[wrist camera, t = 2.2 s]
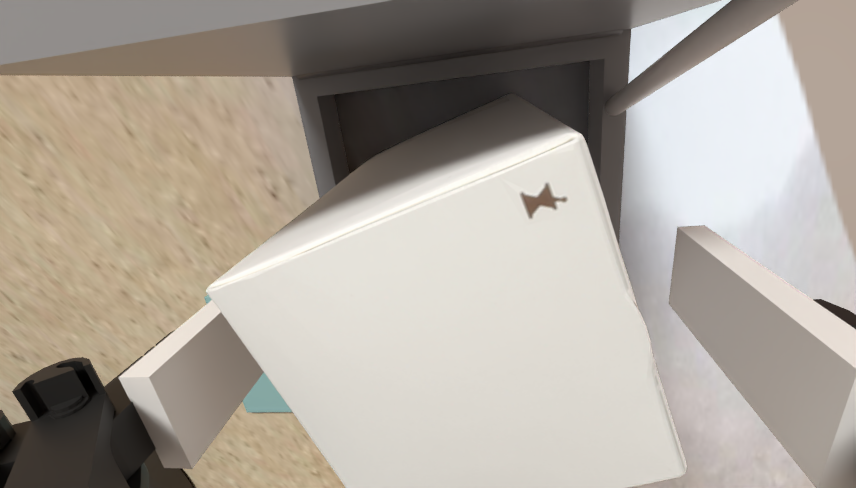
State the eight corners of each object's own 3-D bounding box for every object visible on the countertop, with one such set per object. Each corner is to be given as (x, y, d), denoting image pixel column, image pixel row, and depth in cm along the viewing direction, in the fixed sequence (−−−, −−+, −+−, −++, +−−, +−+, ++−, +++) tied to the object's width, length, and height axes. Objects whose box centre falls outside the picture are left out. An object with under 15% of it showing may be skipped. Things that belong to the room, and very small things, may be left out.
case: (363, 319, 27) (223, 615, 12) (307, 55, 21) (-97, 4, 6) (600, 309, 24) (785, 657, 10) (613, 10, 19) (1124, -242, 4)
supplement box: (362, 158, 23) (182, 283, 9) (515, 88, 20) (593, 111, 7) (427, 291, 25) (368, 544, 12) (569, 243, 23) (702, 486, 9)
